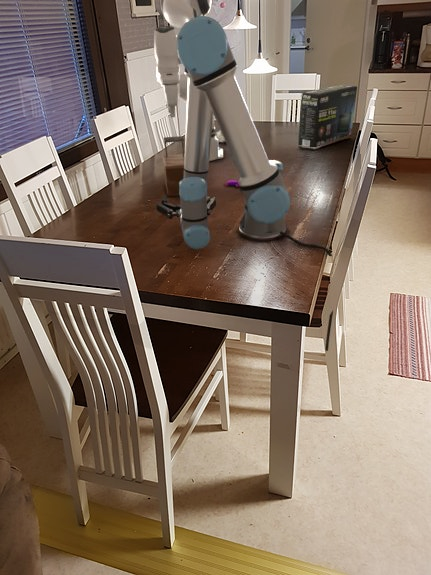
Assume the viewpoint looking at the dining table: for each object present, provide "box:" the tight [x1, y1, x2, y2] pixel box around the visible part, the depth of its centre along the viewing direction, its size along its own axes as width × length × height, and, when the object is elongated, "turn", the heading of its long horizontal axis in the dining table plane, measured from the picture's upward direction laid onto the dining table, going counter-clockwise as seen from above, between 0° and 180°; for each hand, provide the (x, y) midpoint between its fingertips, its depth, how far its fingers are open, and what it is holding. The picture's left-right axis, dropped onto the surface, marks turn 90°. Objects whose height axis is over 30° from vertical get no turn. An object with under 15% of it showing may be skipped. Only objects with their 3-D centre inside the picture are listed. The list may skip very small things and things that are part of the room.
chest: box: [162, 159, 184, 197], centre depth 186 cm, size 15×10×11 cm, turn 9°
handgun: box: [225, 179, 240, 188], centre depth 184 cm, size 21×8×2 cm, turn 11°
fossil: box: [216, 129, 226, 143], centre depth 256 cm, size 18×11×15 cm
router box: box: [297, 84, 358, 151], centre depth 238 cm, size 36×11×27 cm, turn 134°
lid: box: [162, 135, 185, 169], centre depth 181 cm, size 16×10×9 cm, turn 9°
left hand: (171, 114), depth 179 cm, fingers open, 8 cm apart
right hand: (184, 196), depth 162 cm, fingers open, 13 cm apart
